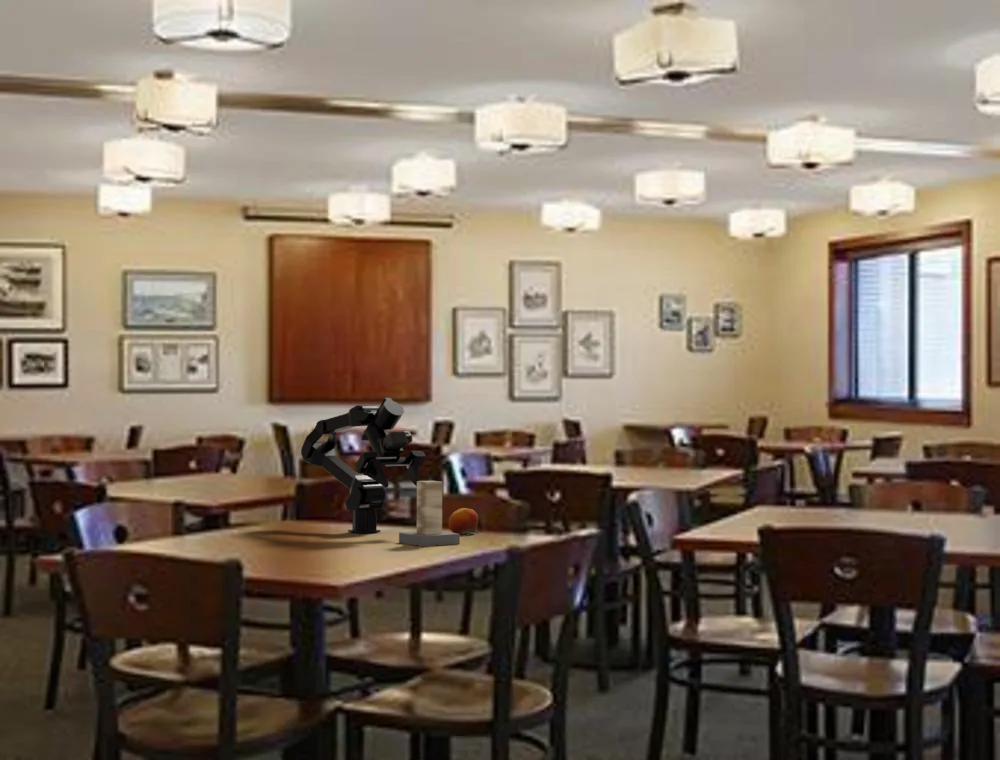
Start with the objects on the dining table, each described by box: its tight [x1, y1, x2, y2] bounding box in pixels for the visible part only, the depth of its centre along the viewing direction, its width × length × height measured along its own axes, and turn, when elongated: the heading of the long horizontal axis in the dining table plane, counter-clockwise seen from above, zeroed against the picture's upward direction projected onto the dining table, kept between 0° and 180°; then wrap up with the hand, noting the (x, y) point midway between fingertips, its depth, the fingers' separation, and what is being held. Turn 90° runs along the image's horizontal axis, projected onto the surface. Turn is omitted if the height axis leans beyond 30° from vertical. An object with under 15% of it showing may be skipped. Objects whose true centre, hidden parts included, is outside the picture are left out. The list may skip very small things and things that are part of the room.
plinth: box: [398, 530, 461, 547], centre depth 356 cm, size 11×11×2 cm
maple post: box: [416, 480, 443, 535], centre depth 355 cm, size 5×5×13 cm
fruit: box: [448, 507, 479, 535], centre depth 380 cm, size 8×8×8 cm
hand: (402, 485), depth 367 cm, fingers open, 9 cm apart
